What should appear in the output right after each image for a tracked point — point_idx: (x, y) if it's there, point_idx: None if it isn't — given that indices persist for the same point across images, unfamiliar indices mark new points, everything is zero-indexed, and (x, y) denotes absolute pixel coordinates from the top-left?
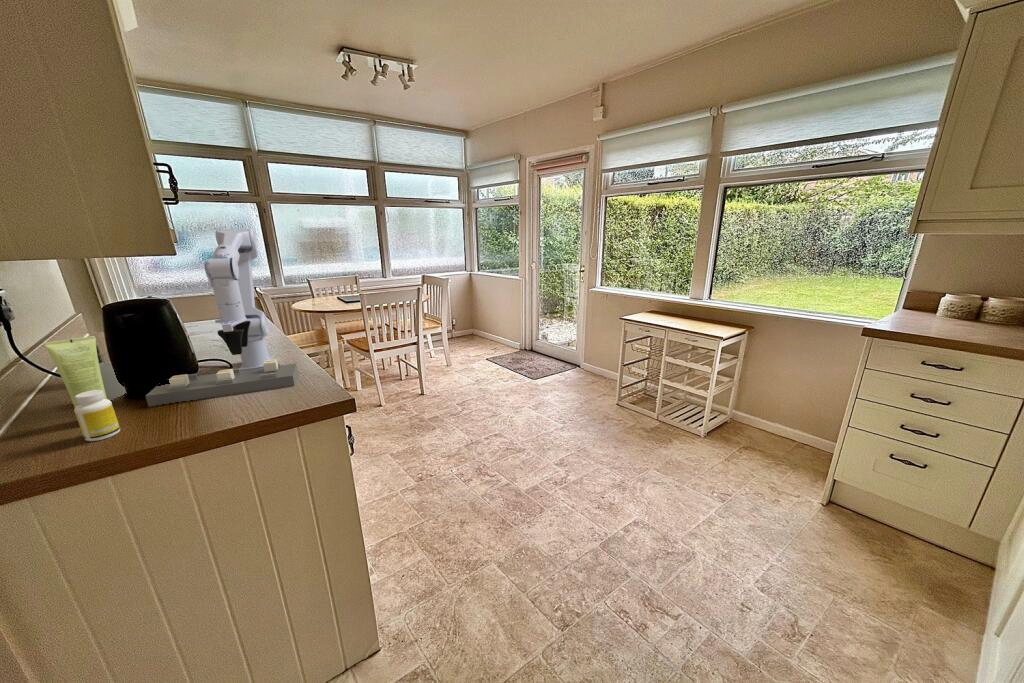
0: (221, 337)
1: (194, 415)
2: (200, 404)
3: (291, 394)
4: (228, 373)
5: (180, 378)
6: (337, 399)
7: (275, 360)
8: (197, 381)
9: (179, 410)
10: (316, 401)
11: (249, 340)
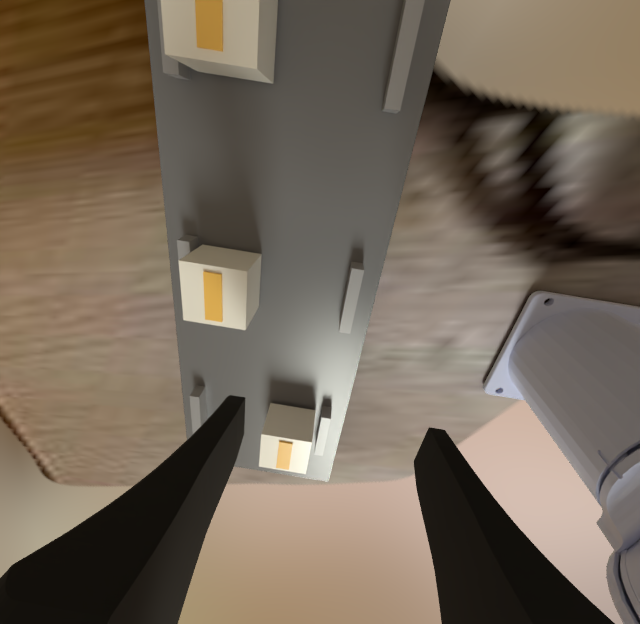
0: (66, 534)
1: (7, 148)
2: (125, 156)
3: (131, 414)
4: (185, 310)
5: (164, 29)
6: (66, 477)
7: (286, 469)
8: (295, 128)
9: (74, 67)
10: (63, 448)
11: (613, 478)
